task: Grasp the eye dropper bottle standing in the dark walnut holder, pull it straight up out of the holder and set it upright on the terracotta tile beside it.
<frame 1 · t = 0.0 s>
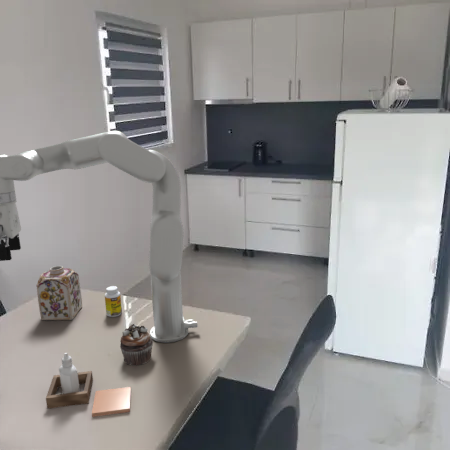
hand: (10, 254, 132), 31 cm above the table, tool pointing down, fingers open, 9 cm apart
supplement bottle: (114, 314, 162), on the table
terracotta tile: (112, 402, 113), on the table
decorative jar: (62, 314, 164), on the table
eye dropper bottle: (71, 394, 117), resting in walnut holder
walnut holder: (71, 393, 117), on the table
cupcake: (137, 358, 133), on the table
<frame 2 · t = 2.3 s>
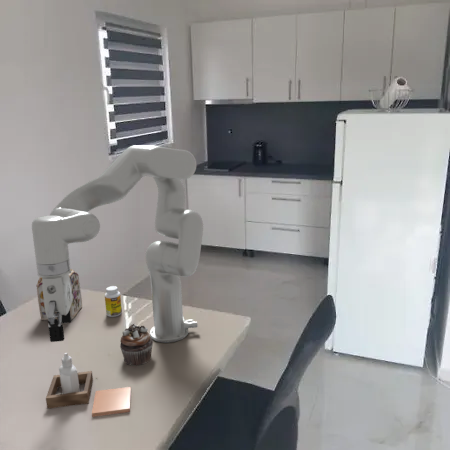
hand: (61, 331, 112), 18 cm above the table, tool pointing down, fingers open, 9 cm apart
nothing on the table moved.
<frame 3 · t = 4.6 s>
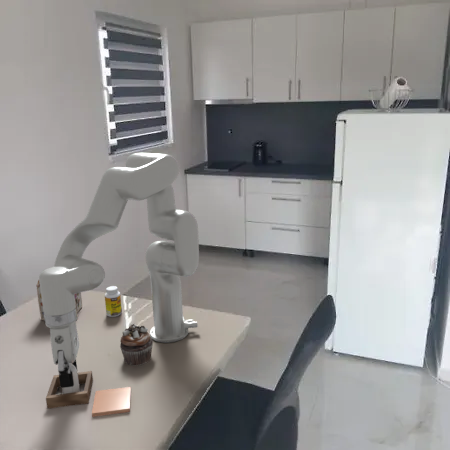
hand: (69, 379, 116), 4 cm above the table, tool pointing down, fingers closed on eye dropper bottle, 5 cm apart
eye dropper bottle: (71, 394, 117), resting in walnut holder, touching gripper
everything else where it was.
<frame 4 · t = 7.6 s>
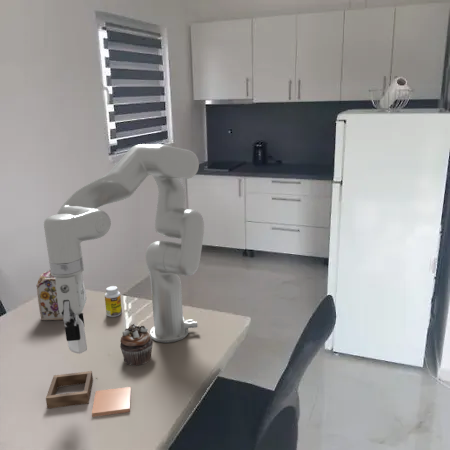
hand: (75, 333, 111), 18 cm above the table, tool pointing down, fingers closed on eye dropper bottle, 5 cm apart
eye dropper bottle: (78, 349, 113), point 13 cm above the table, touching gripper
everything else where it was.
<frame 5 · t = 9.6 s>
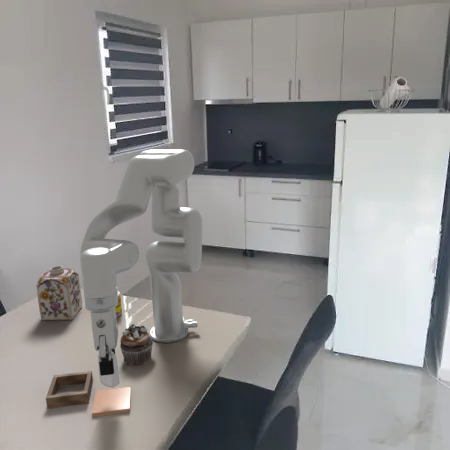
hand: (108, 366, 110), 10 cm above the table, tool pointing down, fingers closed on eye dropper bottle, 5 cm apart
eye dropper bottle: (109, 383, 111), point 6 cm above the table, touching gripper
everything else where it was.
when the fingers open (7 cm above the table, at t = 11.1 s): eye dropper bottle drops 1 cm, resting on terracotta tile.
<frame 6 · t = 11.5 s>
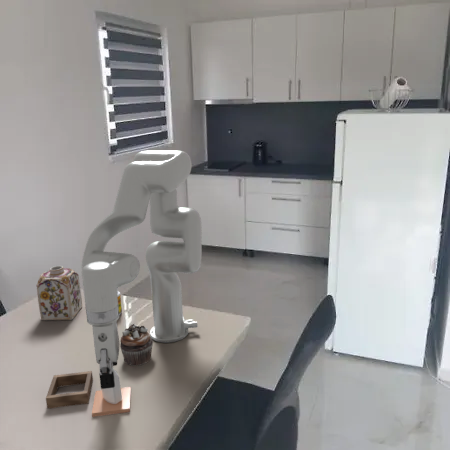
hand: (109, 376, 111), 8 cm above the table, tool pointing down, fingers open, 9 cm apart
eye dropper bottle: (112, 398, 113), point 1 cm above the table, touching terracotta tile
everything else where it was.
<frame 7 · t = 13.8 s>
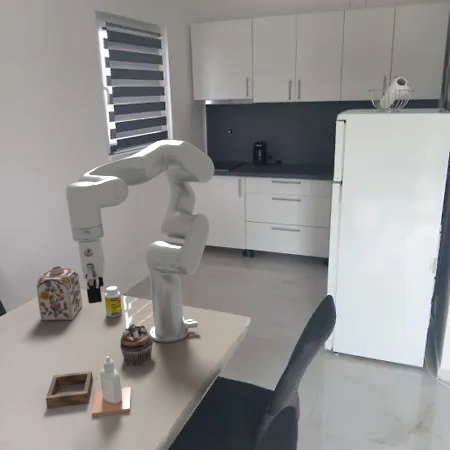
hand: (96, 294, 116), 26 cm above the table, tool pointing down, fingers open, 9 cm apart
nothing on the table moved.
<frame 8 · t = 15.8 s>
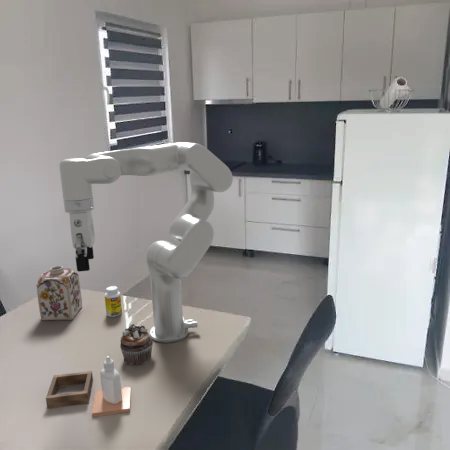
hand: (85, 264, 124), 30 cm above the table, tool pointing down, fingers open, 9 cm apart
nothing on the table moved.
at the end: eye dropper bottle inside the target area on the terracotta tile (0.2 cm from its centre), point 0.8 cm above the terracotta tile's base; eye dropper bottle tilted 0°; the gripper is holding nothing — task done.
